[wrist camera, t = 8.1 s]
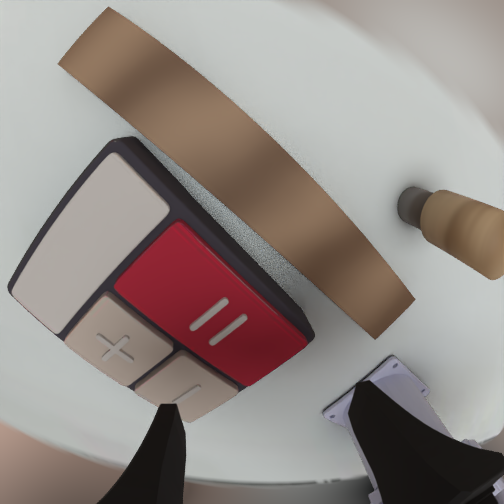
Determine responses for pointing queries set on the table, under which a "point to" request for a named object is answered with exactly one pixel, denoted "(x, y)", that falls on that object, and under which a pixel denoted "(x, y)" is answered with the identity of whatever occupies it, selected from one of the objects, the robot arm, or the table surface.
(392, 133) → the table surface
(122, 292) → the calculator
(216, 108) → the board
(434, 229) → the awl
